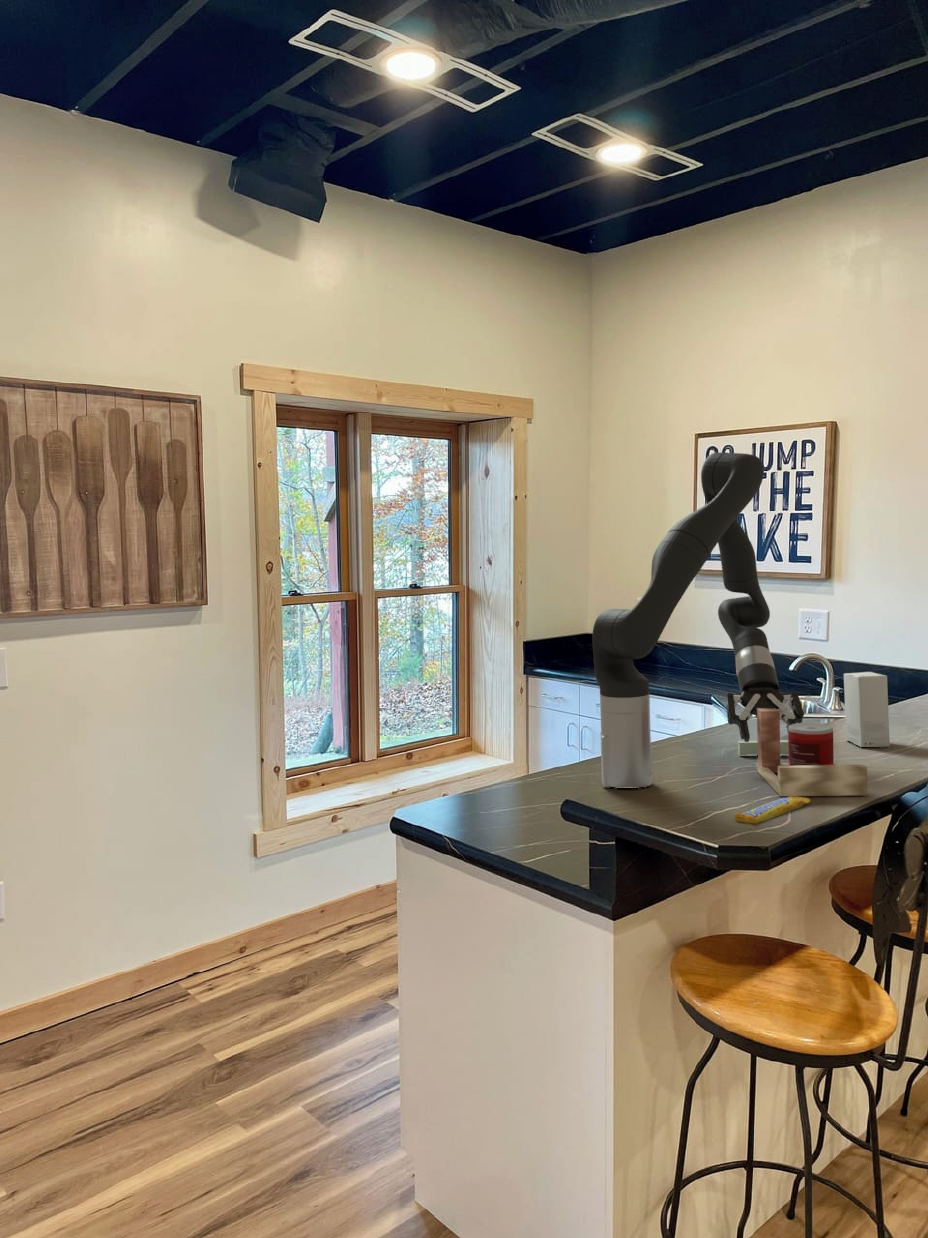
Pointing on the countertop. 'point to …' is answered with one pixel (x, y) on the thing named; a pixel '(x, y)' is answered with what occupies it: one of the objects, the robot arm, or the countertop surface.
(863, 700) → the skincare box
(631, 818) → the countertop surface
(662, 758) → the countertop surface
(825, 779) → the shallow wooden tray
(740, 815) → the candy bar
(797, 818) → the countertop surface
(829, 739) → the canned food
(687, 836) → the countertop surface
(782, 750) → the stop rail
